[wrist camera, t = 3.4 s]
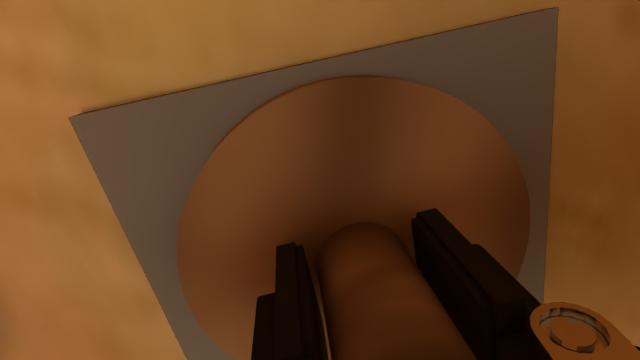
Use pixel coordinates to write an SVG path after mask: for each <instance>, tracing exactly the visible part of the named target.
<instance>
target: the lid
mask: <svg viewBox="0 0 640 360" xmlns="http://www.w3.org/2000/svg"><path fill="white" fill-rule="evenodd" d="M433 208H436V209H438V210H439V211H440V212H441V213H442V214H443V215H444V216H445V217H446V218H447V219H448V220H449V221H450V222H451V223H452V224H453V225H454V227H455V228H456V229H457V230H458V231H459V232H460V233H461V234H462V235H463V236H464V237H465V238H466V239H467V240H468V241H469V242H470V243H471V244H479V245H481V246H482V247H483V248H484V249H485V250H486V251H487V252H488V253H489V254H490V255H491V256H492V257H493V258H494V259H495V260H497V261H498V262H499V263H500V264H501V265H502V266H503V267H504V268H505V269H506V270H507V271H508V272H509V273H510V274H511V275H512V276H513V277H514V278H515V279H517V277H518V274H519V271H520V269H521V266H522V264H523V261H524V258H525V253H526V249H527V245H528V241H529V232H530V222H531V220H530V200H529V195H528V190H527V185H526V181H525V178H524V175H523V173H522V170H521V167H520V164H519V162H518V160H517V158H516V157H515V155H514V153H513V151H512V150H511V148H510V146H509V144H508V143H507V142H506V140H505V139H504V138H503V137H502V135H501V134H500V133H499V132H498V130H497V129H496V128H495V127H494V126H493V125H492V124H491V123H490V122H489V121H488V120H486V119H485V118H484V117H483V116H482V115H481V114H480V113H479V112H478V111H476V110H475V109H473V108H471V107H470V106H468V105H467V104H465V103H464V102H462V101H461V100H459V99H457V98H455V97H453V96H451V95H448V94H446V93H444V92H442V91H439V90H437V89H435V88H432V87H428V86H424V85H421V84H417V83H413V82H410V81H405V80H401V79H397V78H390V77H382V76H374V75H355V76H341V77H335V78H328V79H322V80H318V81H315V82H312V83H308V84H305V85H302V86H298V87H296V88H294V89H291V90H289V91H287V92H285V93H283V94H280V95H278V96H276V97H274V98H272V99H271V100H269V101H267V102H266V103H264V104H263V105H261V106H260V107H258V108H256V109H255V110H253V111H252V112H251V113H250V114H248V115H247V116H246V117H245V118H244V119H242V120H241V121H240V122H239V123H238V124H236V125H235V126H234V127H233V128H232V129H231V131H230V132H229V133H228V134H227V135H226V136H225V137H224V138H223V139H222V141H221V142H220V143H219V144H218V145H217V147H216V148H215V150H214V151H213V153H212V154H211V155H210V157H209V158H208V160H207V161H206V163H205V164H204V166H203V167H202V169H201V170H200V172H199V173H198V175H197V176H196V178H195V181H194V183H193V185H192V187H191V189H190V191H189V193H188V195H187V198H186V200H185V204H184V207H183V210H182V214H181V217H180V221H179V227H178V235H177V243H176V246H177V267H178V272H179V278H180V283H181V287H182V289H183V292H184V295H185V298H186V301H187V303H188V305H189V307H190V309H191V311H192V313H193V315H194V316H195V318H196V320H197V322H198V323H199V324H200V326H201V327H202V328H203V330H204V331H205V332H206V334H207V335H208V336H209V337H210V338H211V339H212V340H213V341H214V342H215V343H216V344H217V345H218V346H219V347H220V348H221V349H222V350H223V351H224V352H226V353H227V354H228V355H229V356H231V357H232V358H233V359H235V360H251V354H252V344H253V334H254V324H255V314H256V304H257V298H258V296H261V295H265V294H270V293H274V292H275V274H276V246H278V245H282V244H287V243H291V242H295V244H296V246H299V245H303V248H304V252H305V255H306V259H307V263H308V267H309V270H310V274H311V278H312V282H313V285H314V289H315V293H316V297H317V300H318V304H319V308H320V312H321V316H322V320H323V326H324V332H325V339H326V345H327V352H328V358H329V360H477V359H476V358H475V356H474V354H473V353H472V351H471V350H470V348H469V347H468V345H467V343H466V342H465V340H464V339H463V337H462V335H461V334H460V332H459V331H458V329H457V328H456V326H455V324H454V323H453V321H452V320H451V318H450V317H449V315H448V313H447V312H446V310H445V309H444V307H443V306H442V304H441V302H440V301H439V299H438V298H437V296H436V295H435V293H434V291H433V290H432V288H431V287H430V285H429V284H428V282H427V280H426V279H425V277H424V276H423V274H422V273H421V271H420V269H419V268H418V266H417V265H416V259H415V250H414V242H413V234H412V226H411V219H412V218H416V214H417V212H421V211H425V210H429V209H433Z"/></svg>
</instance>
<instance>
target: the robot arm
mask: <svg viewBox="0 0 640 360" xmlns="http://www.w3.org/2000/svg"><path fill="white" fill-rule="evenodd" d="M411 226H412V234H413V242H414V250H415V259H416V265H417V266H418V268H419V269H420V271H421V273H422V274H423V276H424V277H425V279H426V280H427V282H428V284H429V285H430V287H431V288H432V290H433V291H434V293H435V295H436V296H437V298H438V299H439V301H440V302H441V304H442V306H443V307H444V309H445V310H446V312H447V313H448V315H449V317H450V318H451V320H452V321H453V323H454V324H455V326H456V328H457V329H458V331H459V332H460V334H461V335H462V337H463V339H464V340H465V342H466V343H467V345H468V347H469V348H470V350H471V351H472V353H473V354H474V356H475V358H476V359H477V360H640V347H637V346H634V345H633V344H632V343H631V342H630V341H629V340H628V339H627V338H626V337H625V336H624V335H623V334H622V333H621V332H620V331H619V330H618V329H617V328H616V327H615V326H614V325H613V324H611V323H610V322H609V321H608V320H606V319H605V318H604V317H603V316H601V315H600V314H598V313H596V312H594V311H592V310H590V309H588V308H585V307H582V306H579V305H576V304H571V303H564V302H550V303H547V304H543V305H542V304H541V303H540V302H539V301H538V300H537V299H536V298H535V297H534V296H533V295H532V294H530V293H529V292H528V291H527V290H526V289H525V288H524V287H523V286H522V285H521V284H520V283H519V282H518V281H517V280H516V279H515V278H514V277H513V276H512V275H511V274H510V273H509V272H508V271H507V270H506V269H505V268H504V267H503V266H502V265H501V264H500V263H499V262H498V261H497V260H495V259H494V258H493V257H492V256H491V255H490V254H489V253H488V252H487V251H486V250H485V249H484V248H483V247H482V246H481V245H479V244H471V243H470V242H469V241H468V240H467V239H466V238H465V237H464V236H463V235H462V234H461V233H460V232H459V231H458V230H457V229H456V228H455V227H454V225H453V224H452V223H451V222H450V221H449V220H448V219H447V218H446V217H445V216H444V215H443V214H442V213H441V212H440V211H439V210H438V209H436V208H433V209H429V210H425V211H421V212H417V214H416V218H412V219H411ZM251 360H329V358H328V352H327V345H326V339H325V332H324V326H323V320H322V316H321V312H320V308H319V304H318V300H317V297H316V293H315V289H314V285H313V282H312V278H311V274H310V270H309V267H308V263H307V259H306V255H305V252H304V248H303V245H299V246H296V244H295V242H291V243H287V244H282V245H278V246H276V274H275V292H274V293H270V294H265V295H261V296H258V298H257V304H256V314H255V324H254V334H253V344H252V354H251Z"/></svg>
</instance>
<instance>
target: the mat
mask: <svg viewBox="0 0 640 360" xmlns="http://www.w3.org/2000/svg"><path fill="white" fill-rule="evenodd" d="M558 11H559V7H555V8H549V9H543V10H538V11H534V12H530V13H525V14H521V15H516V16H512V17H507V18H503V19H499V20H494V21H490V22H485V23H481V24H476V25H472V26H468V27H463V28H459V29H454V30H450V31H445V32H441V33H436V34H432V35H428V36H423V37H419V38H414V39H410V40H405V41H401V42H397V43H392V44H388V45H383V46H379V47H374V48H370V49H366V50H361V51H357V52H352V53H348V54H343V55H339V56H335V57H330V58H326V59H321V60H317V61H312V62H308V63H304V64H299V65H295V66H290V67H286V68H281V69H277V70H273V71H268V72H264V73H259V74H255V75H250V76H246V77H241V78H237V79H233V80H228V81H224V82H219V83H215V84H210V85H206V86H202V87H197V88H193V89H188V90H184V91H179V92H175V93H171V94H166V95H162V96H157V97H153V98H148V99H144V100H140V101H135V102H131V103H126V104H122V105H117V106H113V107H109V108H104V109H100V110H95V111H91V112H86V113H82V114H78V115H75V116H72V117H69V120H70V122H71V124H72V126H73V128H74V130H75V132H76V134H77V136H78V138H79V141H80V143H81V145H82V147H83V149H84V151H85V153H86V155H87V157H88V159H89V161H90V163H91V165H92V167H93V169H94V171H95V173H96V175H97V177H98V179H99V181H100V183H101V185H102V187H103V189H104V191H105V193H106V195H107V198H108V200H109V202H110V204H111V206H112V208H113V210H114V212H115V214H116V216H117V218H118V220H119V222H120V224H121V226H122V228H123V230H124V232H125V234H126V236H127V238H128V240H129V242H130V244H131V246H132V248H133V250H134V252H135V254H136V257H137V259H138V261H139V263H140V265H141V267H142V269H143V271H144V273H145V275H146V277H147V279H148V281H149V283H150V285H151V287H152V289H153V291H154V293H155V295H156V297H157V299H158V301H159V303H160V305H161V307H162V309H163V311H164V313H165V316H166V318H167V320H168V322H169V324H170V326H171V328H172V330H173V332H174V334H175V336H176V338H177V340H178V342H179V344H180V346H181V348H182V350H183V352H184V354H185V356H186V358H187V360H235V359H233V358H232V357H231V356H229V355H228V354H227V353H226V352H224V351H223V350H222V349H221V348H220V347H219V346H218V345H217V344H216V343H215V342H214V341H213V340H212V339H211V338H210V337H209V336H208V335H207V334H206V332H205V331H204V330H203V328H202V327H201V326H200V324H199V323H198V322H197V320H196V318H195V316H194V315H193V313H192V311H191V309H190V307H189V305H188V303H187V301H186V298H185V295H184V292H183V289H182V287H181V283H180V278H179V272H178V267H177V246H176V243H177V235H178V227H179V221H180V217H181V214H182V210H183V207H184V204H185V200H186V198H187V195H188V193H189V191H190V189H191V187H192V185H193V183H194V181H195V178H196V176H197V175H198V173H199V172H200V170H201V169H202V167H203V166H204V164H205V163H206V161H207V160H208V158H209V157H210V155H211V154H212V153H213V151H214V150H215V148H216V147H217V145H218V144H219V143H220V142H221V141H222V139H223V138H224V137H225V136H226V135H227V134H228V133H229V132H230V131H231V129H232V128H233V127H234V126H235V125H236V124H238V123H239V122H240V121H241V120H242V119H244V118H245V117H246V116H247V115H248V114H250V113H251V112H252V111H253V110H255V109H256V108H258V107H260V106H261V105H263V104H264V103H266V102H267V101H269V100H271V99H272V98H274V97H276V96H278V95H280V94H283V93H285V92H287V91H289V90H291V89H294V88H296V87H298V86H302V85H305V84H308V83H312V82H315V81H318V80H322V79H328V78H335V77H341V76H355V75H374V76H382V77H390V78H397V79H401V80H405V81H410V82H413V83H417V84H421V85H424V86H428V87H432V88H435V89H437V90H439V91H442V92H444V93H446V94H448V95H451V96H453V97H455V98H457V99H459V100H461V101H462V102H464V103H465V104H467V105H468V106H470V107H471V108H473V109H475V110H476V111H478V112H479V113H480V114H481V115H482V116H483V117H484V118H485V119H486V120H488V121H489V122H490V123H491V124H492V125H493V126H494V127H495V128H496V129H497V130H498V132H499V133H500V134H501V135H502V137H503V138H504V139H505V140H506V142H507V143H508V144H509V146H510V148H511V150H512V151H513V153H514V155H515V157H516V158H517V160H518V162H519V164H520V167H521V170H522V173H523V175H524V178H525V181H526V185H527V190H528V195H529V200H530V220H531V222H530V232H529V241H528V245H527V249H526V253H525V258H524V261H523V264H522V266H521V269H520V271H519V274H518V277H517V279H516V280H517V281H518V282H519V283H520V284H521V285H522V286H523V287H524V288H525V289H526V290H527V291H528V292H529V293H530V294H532V295H533V296H534V297H535V298H536V299H537V300H538V301H539V302H540V303H541V304H542V305H543V295H544V276H545V257H546V239H547V220H548V201H549V182H550V163H551V144H552V125H553V106H554V87H555V68H556V49H557V30H558Z"/></svg>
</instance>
